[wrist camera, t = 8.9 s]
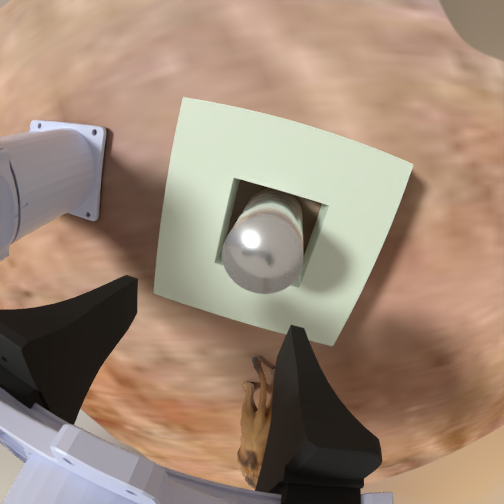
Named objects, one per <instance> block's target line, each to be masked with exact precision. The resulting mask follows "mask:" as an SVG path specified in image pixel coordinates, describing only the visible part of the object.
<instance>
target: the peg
mask: <svg viewBox="0 0 504 504" xmlns="http://www.w3.org/2000/svg"><path fill="white" fill-rule="evenodd" d="M222 261H223V265H224V268H225V270H226V272H227V274H228V275H229V277H230V278H231V279H232V280H233V281H234V282H235V283H236V284H237V285H239V286H240V287H242V288H243V289H245V290H248V291H250V292H254V293H259V294H271V293H276V292H279V291H282V290H284V289H286V288H287V287H289V286H290V285H291V284H293V283H294V281H295V280H296V279H297V278H298V276H299V274H300V272H301V270H302V267H303V214H302V209H301V206H300V203H299V202H298V200H297V199H296V198H295V197H294V196H293V195H292V194H290V193H287V192H283V191H280V190H276V189H273V188H267V189H263V190H261V191H259V192H257V193H256V194H255V195H254V196H253V197H252V198H251V199H250V201H249V202H248V204H247V205H246V207H245V209H244V210H243V212H242V213H241V215H240V217H239V218H238V220H237V221H236V223H235V225H234V226H233V228H232V230H231V231H230V233H229V234H228V236H227V238H226V240H225V242H224V245H223V249H222Z"/></svg>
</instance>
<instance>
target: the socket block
mask: <svg viewBox="0 0 504 504" xmlns="http://www.w3.org/2000/svg"><path fill="white" fill-rule="evenodd" d="M413 165H414V164H411V163H409V162H407V161H404V160H402V159H400V158H397V157H395V156H393V155H390V154H388V153H385V152H383V151H380V150H378V149H375V148H373V147H370V146H367V145H365V144H362V143H359V142H356V141H354V140H351V139H348V138H345V137H342V136H339V135H336V134H333V133H330V132H327V131H324V130H321V129H318V128H315V127H311V126H308V125H305V124H301V123H298V122H295V121H291V120H287V119H284V118H280V117H276V116H272V115H268V114H264V113H260V112H256V111H252V110H248V109H243V108H239V107H234V106H229V105H224V104H219V103H214V102H209V101H203V100H197V99H191V98H185V97H183V100H182V105H181V109H180V114H179V118H178V123H177V128H176V133H175V138H174V143H173V148H172V153H171V159H170V164H169V170H168V176H167V182H166V189H165V195H164V202H163V209H162V216H161V224H160V232H159V240H158V249H157V259H156V269H155V280H154V292H153V294H156V295H159V296H162V297H165V298H168V299H170V300H173V301H176V302H179V303H182V304H185V305H188V306H191V307H194V308H198V309H201V310H204V311H207V312H210V313H213V314H216V315H220V316H223V317H226V318H229V319H233V320H236V321H239V322H243V323H246V324H250V325H253V326H257V327H260V328H264V329H267V330H271V331H275V332H278V333H282V334H286V335H287V332H288V330H289V327H290V325H294V326H298V327H302V328H304V329H305V331H306V334H307V337H308V340H309V341H313V342H317V343H321V344H325V345H329V346H333V345H334V343H335V342H336V340H337V338H338V336H339V334H340V332H341V331H342V329H343V327H344V325H345V323H346V321H347V319H348V317H349V315H350V313H351V312H352V310H353V308H354V306H355V304H356V302H357V300H358V298H359V296H360V294H361V292H362V289H363V287H364V285H365V283H366V281H367V279H368V277H369V275H370V273H371V270H372V268H373V266H374V264H375V262H376V259H377V257H378V255H379V253H380V250H381V248H382V246H383V243H384V241H385V239H386V236H387V234H388V232H389V229H390V227H391V224H392V222H393V219H394V217H395V214H396V212H397V209H398V206H399V204H400V201H401V199H402V196H403V193H404V190H405V188H406V185H407V182H408V179H409V176H410V173H411V171H412V168H413ZM240 179H241V180H244V181H248V182H252V183H255V184H259V185H262V186H266V187H269V188H273V189H276V190H280V191H283V192H287V193H290V194H293V195H297V196H300V197H303V198H307V199H310V200H313V201H316V202H319V203H322V205H321V208H320V211H319V214H318V217H317V220H316V223H315V225H314V228H313V231H312V234H311V237H310V240H309V243H308V245H307V248H306V251H305V254H304V257H303V267H302V270H301V272H300V274H299V276H298V278H297V279H296V280H295V281H294V283H293V284H291V285H290V286H289V287H287V288H286V289H284V290H282V291H279V292H276V293H271V294H259V293H254V292H250V291H248V290H245V289H243V288H242V287H240V286H239V285H237V284H236V283H235V282H234V281H233V280H232V279H231V278H230V277H229V275H228V274H227V272H226V270H225V268H224V265H223V261H222V249H223V245H224V242H225V240H226V238H227V233H228V229H229V225H230V220H231V216H232V212H233V208H234V204H235V200H236V195H237V191H238V187H239V183H240Z"/></svg>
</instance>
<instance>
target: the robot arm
mask: <svg viewBox="0 0 504 504" xmlns="http://www.w3.org/2000/svg"><path fill="white" fill-rule="evenodd" d="M95 130H96V131H97V134H95ZM105 141H106V129H105V127H102V126H94V125H86V124H78V123H68V122H58V121H46V120H33V121H32V122H31V125H30V131H28V132H22V133H17V134H13V135H8V136H3V137H0V261H1V260H3V259H4V258H6V257H8V256H9V247H10V245H11V244H12V243H14V242H16V241H17V240H19V239H21V238H22V237H24V236H26V235H27V234H29V233H31V232H33V231H34V230H36V229H38V228H40V227H41V226H43V225H45V224H47V223H49V222H51V221H52V220H54V219H56V218H58V217H60V216H62V215H64V214H66V213H69V214H72V215H75V216H78V217H81V218H84V219H87V220H90V221H96V220H97V219H98V218H99V205H100V189H101V177H102V166H103V157H104V148H105ZM88 212H89V213H90V215H89V214H88ZM137 290H138V279H137V278H134V277H131V276H128V275H126V276H123V277H121V278H118V279H116V280H114V281H112V282H110V283H107V284H105V285H103V286H101V287H99V288H96V289H94V290H92V291H89V292H87V293H84V294H82V295H79V296H77V297H74V298H71V299H68V300H65V301H62V302H58V303H55V304H50V305H45V306H41V307H35V308H27V309H15V310H0V443H1V444H2V445H3V446H5V447H6V448H7V449H8V450H9V451H10V452H12V453H13V454H14V455H15V456H17V457H18V458H19V459H20V460H21V461H23V462H24V463H25V464H24V467H23V468H22V469H21V471H20V473H19V475H18V476H17V478H16V479H15V481H14V483H13V485H12V487H11V488H10V490H9V492H8V493H7V495H6V497H5V499H4V500H3V502H2V504H393V493H392V492H379V493H378V492H377V493H365V494H362V495H361V494H360V488H363V486H364V478H365V477H367V476H368V475H369V474H371V473H372V472H373V471H375V470H376V469H377V468H378V467H379V466H380V465H381V463H382V454H381V447H380V442H379V439H378V438H377V437H376V436H374V435H373V434H372V433H371V432H370V431H369V430H367V429H366V428H365V427H364V426H363V425H362V424H361V423H360V422H359V421H358V420H357V419H356V418H355V417H354V416H353V415H352V414H351V413H350V412H349V410H348V409H347V408H346V407H345V405H344V404H343V403H342V402H341V401H340V399H339V398H338V396H337V395H336V394H335V392H334V391H333V389H332V388H331V386H330V384H329V383H328V381H327V379H326V377H325V375H324V374H323V372H322V370H321V368H320V366H319V363H318V361H317V359H316V357H315V355H314V352H313V350H312V347H311V345H310V342H309V340H308V337H307V334H306V331H305V329H304V328H302V327H298V326H294V325H290V327H289V330H288V332H287V335H286V337H285V340H284V342H283V344H282V347H281V349H280V352H279V354H278V356H277V362H276V367H275V372H274V382H273V398H272V413H271V422H270V428H269V433H268V438H267V443H266V448H265V453H264V457H263V461H262V465H261V470H260V474H259V477H258V481H257V485H256V488H255V491H254V490H248V489H243V488H238V487H234V486H229V485H225V484H221V483H217V482H213V481H209V480H205V479H201V478H198V477H194V476H191V475H188V474H184V473H181V472H178V471H175V470H172V469H169V468H166V467H163V466H160V465H158V464H156V463H154V462H152V461H150V460H148V459H146V458H144V457H142V456H139V455H137V454H135V453H132V452H130V451H128V450H125V449H123V448H121V447H118V446H116V445H114V444H112V443H110V442H107V441H106V440H103V439H101V438H99V437H98V436H95V435H94V434H91V433H90V432H87V431H86V430H84V429H82V428H80V427H77V426H75V425H74V423H75V420H76V418H77V415H78V413H79V410H80V408H81V406H82V403H83V401H84V399H85V396H86V394H87V392H88V390H89V388H90V386H91V384H92V382H93V380H94V378H95V376H96V375H97V373H98V371H99V369H100V367H101V366H102V364H103V363H104V361H105V360H106V358H107V357H108V356H109V354H110V353H111V352H112V350H113V349H114V348H115V346H116V345H117V344H118V342H119V341H120V340H121V338H122V337H123V336H124V334H125V333H126V331H127V330H128V329H129V327H130V325H131V323H132V322H133V320H134V318H135V316H136V314H137Z"/></svg>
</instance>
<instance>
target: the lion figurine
mask: <svg viewBox="0 0 504 504" xmlns="http://www.w3.org/2000/svg"><path fill="white" fill-rule="evenodd" d="M252 362H253V364H254V368H255V369H256V371H257V373H258V375H259V378H260V385H261V390H260V401H259V406H258V409H257V407H256V405H255V403H254V399H253V395H254V392H255V389H254V384H252V383H251V382H245V383H244V384H243V389H244V390H245V391H246V398H245V401H244V404H243V408H242V418H241V431H242V435H241V446H240V448H239V450H238V463H239V465H240V466H241V472H242V474H243V476H244V477H245V481H246V482H247V483H248V485H250V486H251V487H252V488H254V489H255V488H256V485H257V481H258V477H259V474H260V470H261V465H262V461H263V457H264V453H265V448H266V443H267V438H268V433H269V428H270V422H271V413H272V398H273V382H274V372H275V368H274V369H273V370H272V395H271V398H270V400H269V402H268V404H267V406H266V396H267V384H266V379H265V375H264V372H263V370H262V367H261V361H260V360H259V359H258V358H257V357H252ZM265 407H266V408H265Z"/></svg>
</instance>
